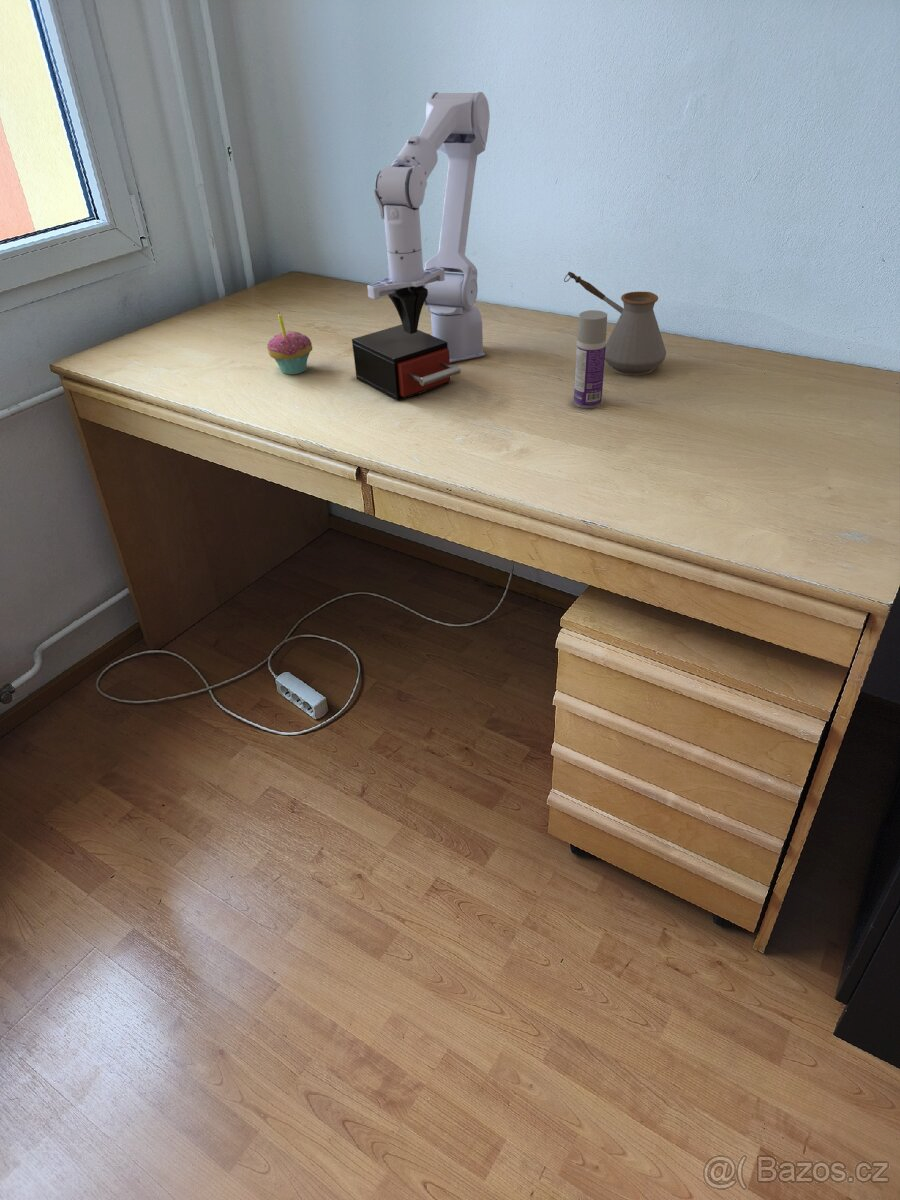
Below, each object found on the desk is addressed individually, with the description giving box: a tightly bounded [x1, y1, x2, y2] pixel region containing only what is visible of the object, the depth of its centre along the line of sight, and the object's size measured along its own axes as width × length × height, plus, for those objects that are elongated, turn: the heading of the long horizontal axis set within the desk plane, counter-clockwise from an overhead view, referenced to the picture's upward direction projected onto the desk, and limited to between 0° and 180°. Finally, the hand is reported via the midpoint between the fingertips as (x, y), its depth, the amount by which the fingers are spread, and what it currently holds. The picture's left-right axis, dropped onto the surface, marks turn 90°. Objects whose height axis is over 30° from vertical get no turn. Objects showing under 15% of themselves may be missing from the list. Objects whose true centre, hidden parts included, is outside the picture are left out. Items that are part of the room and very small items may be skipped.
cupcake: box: [267, 310, 313, 375], centre depth 151 cm, size 9×8×12 cm
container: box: [573, 309, 608, 410], centre depth 132 cm, size 5×5×15 cm
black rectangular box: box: [351, 323, 450, 401], centre depth 146 cm, size 14×12×8 cm
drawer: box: [397, 348, 462, 397], centre depth 143 cm, size 17×10×6 cm, turn 38°
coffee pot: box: [563, 271, 667, 376], centre depth 146 cm, size 21×12×15 cm, turn 49°
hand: (410, 331), depth 139 cm, fingers closed
